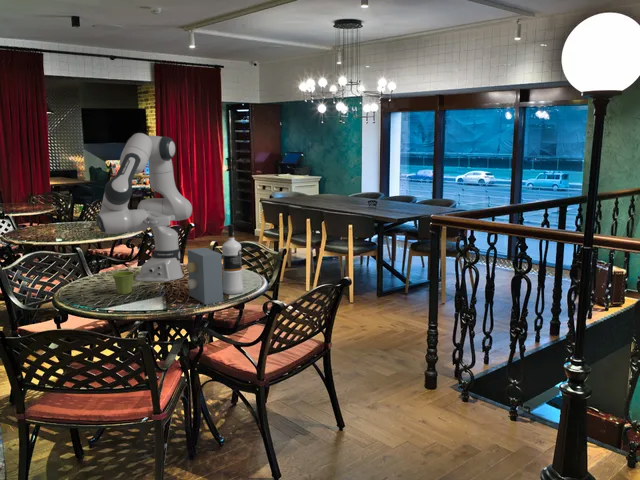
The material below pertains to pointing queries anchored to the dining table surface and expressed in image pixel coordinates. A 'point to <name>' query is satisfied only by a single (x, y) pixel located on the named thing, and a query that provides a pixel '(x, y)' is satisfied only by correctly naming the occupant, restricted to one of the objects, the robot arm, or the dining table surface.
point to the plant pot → (123, 282)
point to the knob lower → (192, 283)
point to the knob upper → (192, 267)
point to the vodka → (232, 265)
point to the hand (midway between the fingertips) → (174, 217)
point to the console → (206, 275)
